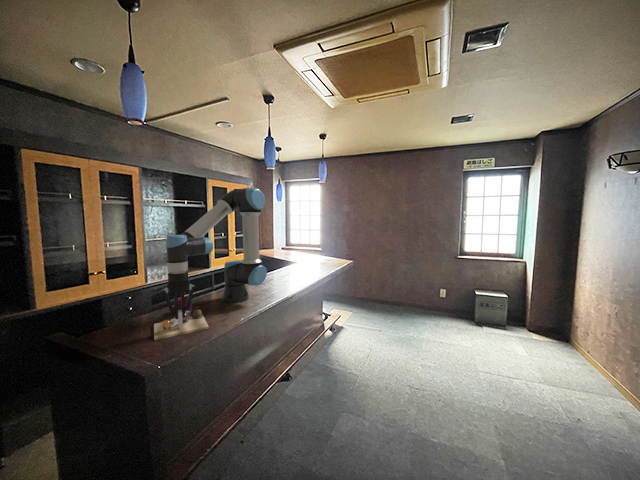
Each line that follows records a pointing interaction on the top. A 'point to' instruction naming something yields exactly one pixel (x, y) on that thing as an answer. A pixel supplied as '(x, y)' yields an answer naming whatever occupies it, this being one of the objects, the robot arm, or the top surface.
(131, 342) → the top surface
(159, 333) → the press base
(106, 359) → the top surface
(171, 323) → the lever
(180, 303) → the mug
